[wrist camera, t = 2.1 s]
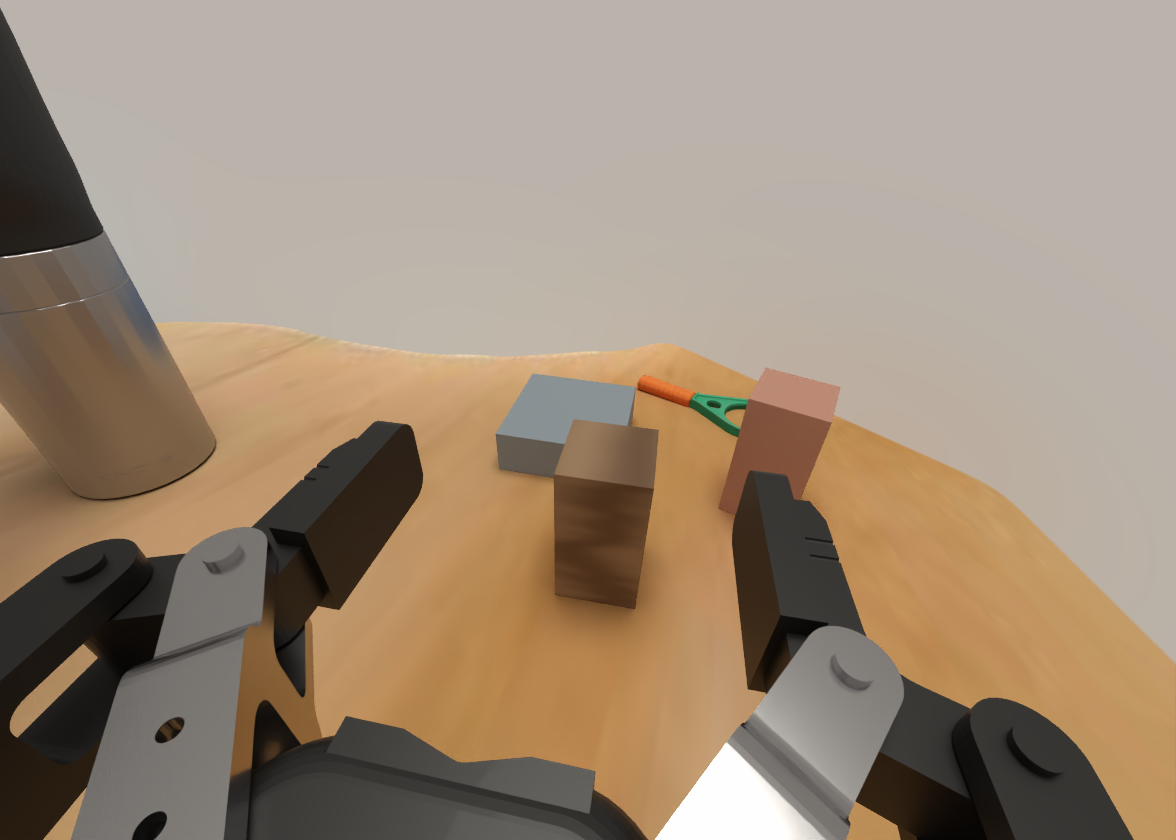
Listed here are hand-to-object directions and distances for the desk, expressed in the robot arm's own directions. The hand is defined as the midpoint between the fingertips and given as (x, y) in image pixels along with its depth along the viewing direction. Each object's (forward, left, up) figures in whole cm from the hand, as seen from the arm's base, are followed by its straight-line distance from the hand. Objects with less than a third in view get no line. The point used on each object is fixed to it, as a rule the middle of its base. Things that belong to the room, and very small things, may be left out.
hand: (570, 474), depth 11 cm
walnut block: (-7, +9, -18) cm, 21 cm away
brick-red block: (-4, +23, -18) cm, 29 cm away
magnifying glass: (-15, +30, -19) cm, 39 cm away
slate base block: (-19, +16, -18) cm, 31 cm away
